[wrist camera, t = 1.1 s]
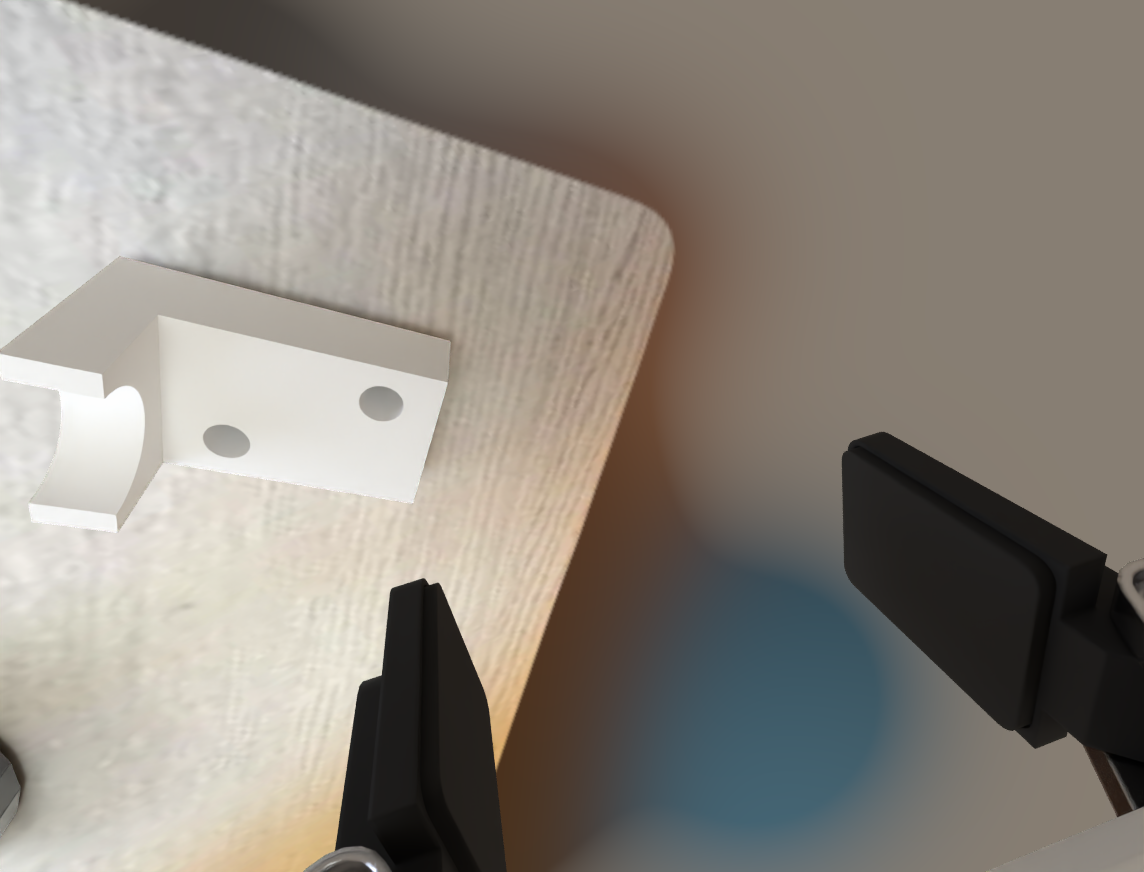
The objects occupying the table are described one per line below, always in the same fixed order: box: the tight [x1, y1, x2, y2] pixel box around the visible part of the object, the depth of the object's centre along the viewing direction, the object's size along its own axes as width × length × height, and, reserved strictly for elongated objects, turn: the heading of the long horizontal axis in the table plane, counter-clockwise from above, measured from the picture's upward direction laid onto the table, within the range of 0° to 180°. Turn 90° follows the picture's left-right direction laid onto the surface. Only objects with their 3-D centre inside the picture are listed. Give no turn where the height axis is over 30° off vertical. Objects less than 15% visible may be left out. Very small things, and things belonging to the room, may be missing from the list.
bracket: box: [0, 256, 451, 533], centre depth 24 cm, size 13×7×8 cm, turn 72°
